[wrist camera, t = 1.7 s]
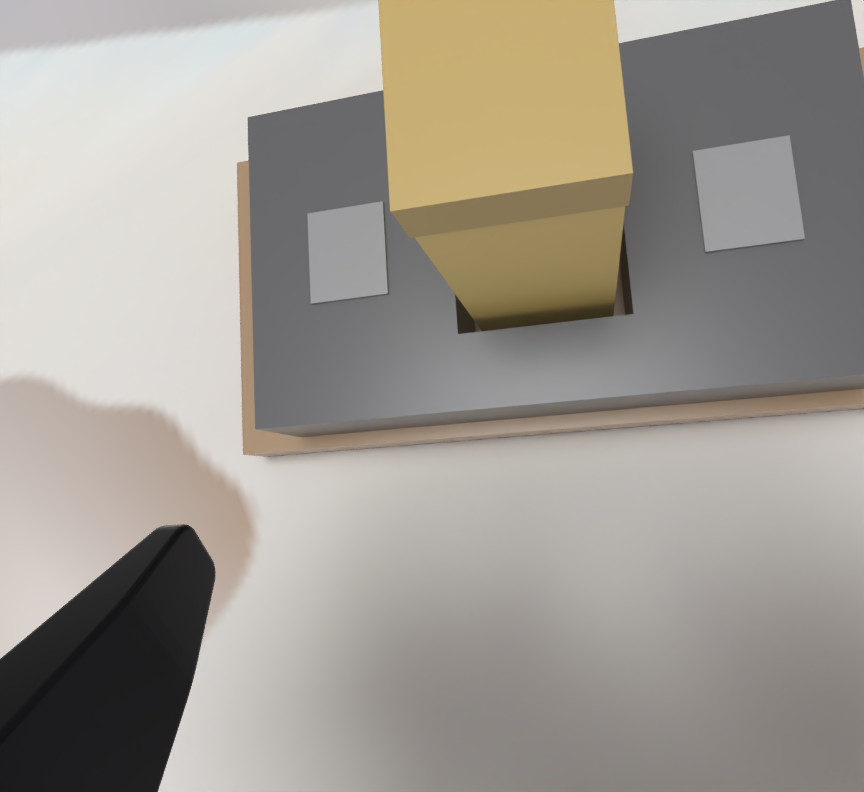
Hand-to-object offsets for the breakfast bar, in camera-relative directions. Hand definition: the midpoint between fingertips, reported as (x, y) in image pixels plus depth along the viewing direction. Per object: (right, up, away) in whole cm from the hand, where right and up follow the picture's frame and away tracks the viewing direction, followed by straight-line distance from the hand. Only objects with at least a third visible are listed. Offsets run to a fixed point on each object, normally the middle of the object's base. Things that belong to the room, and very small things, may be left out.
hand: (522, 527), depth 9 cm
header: (+3, +5, +13) cm, 15 cm away
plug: (+2, +6, +12) cm, 13 cm away
